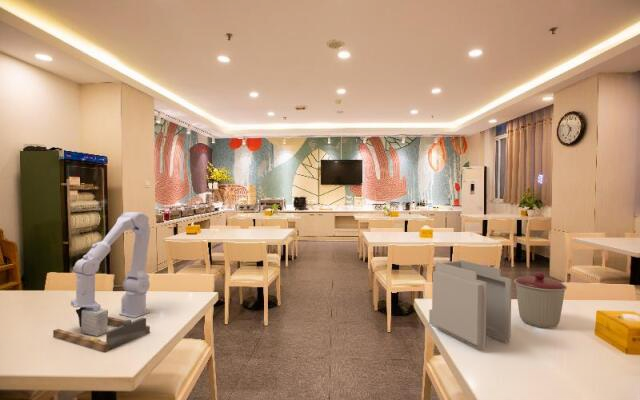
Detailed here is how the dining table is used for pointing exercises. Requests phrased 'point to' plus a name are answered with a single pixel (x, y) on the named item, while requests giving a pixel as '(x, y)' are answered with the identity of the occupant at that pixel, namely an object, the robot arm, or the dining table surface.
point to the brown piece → (108, 334)
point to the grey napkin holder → (471, 302)
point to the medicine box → (94, 321)
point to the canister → (540, 300)
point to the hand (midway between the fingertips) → (85, 326)
